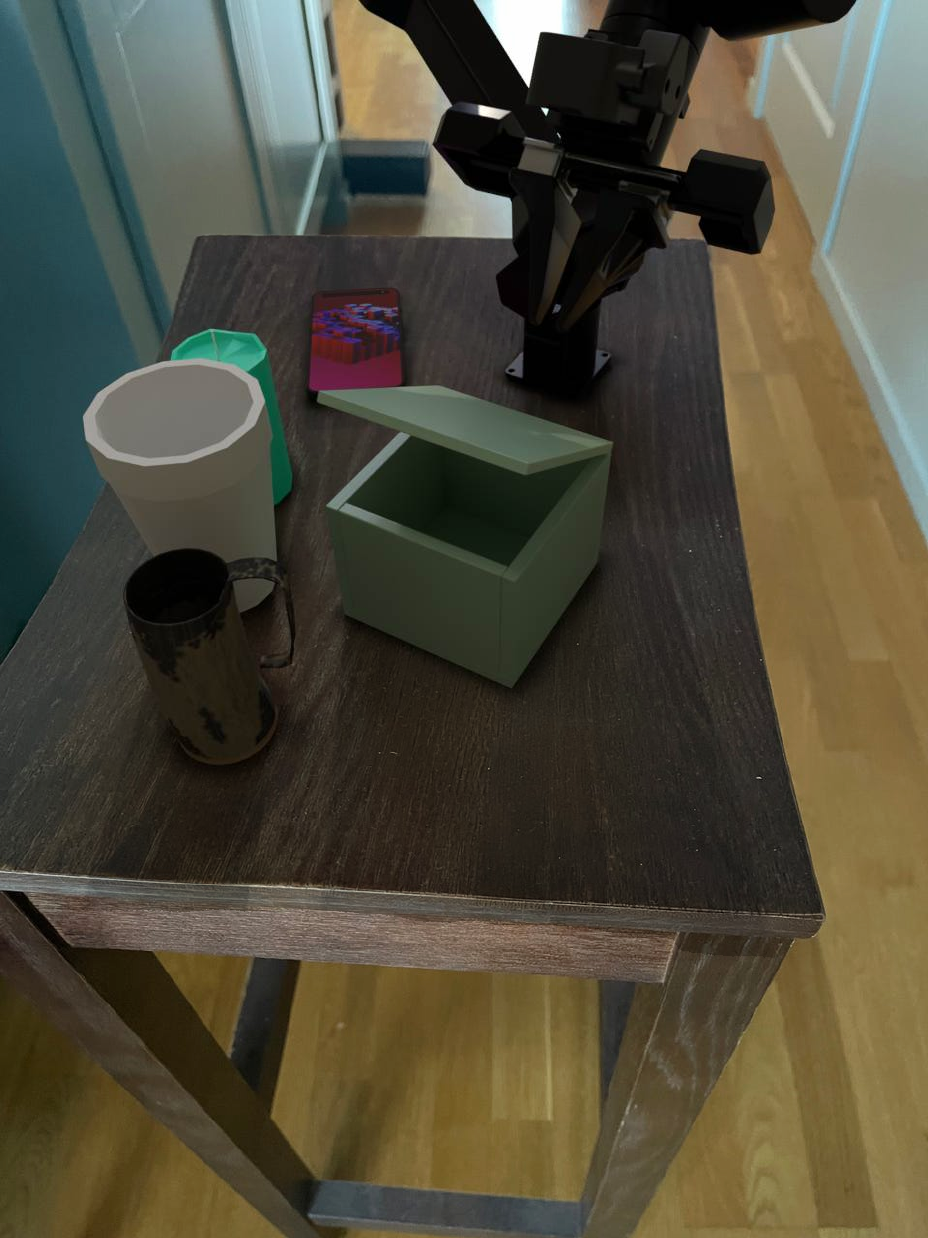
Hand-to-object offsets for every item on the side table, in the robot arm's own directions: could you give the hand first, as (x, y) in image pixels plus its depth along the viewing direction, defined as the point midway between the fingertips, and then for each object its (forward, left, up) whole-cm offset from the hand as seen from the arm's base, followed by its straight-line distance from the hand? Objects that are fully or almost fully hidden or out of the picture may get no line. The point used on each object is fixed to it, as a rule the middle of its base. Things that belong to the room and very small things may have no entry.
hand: (546, 326), depth 52 cm
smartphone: (-10, -22, -14) cm, 28 cm away
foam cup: (+16, -14, -14) cm, 25 cm away
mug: (+24, -6, -14) cm, 28 cm away
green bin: (+9, 0, -14) cm, 16 cm away
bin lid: (+8, 0, -2) cm, 9 cm away
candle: (+8, -19, -14) cm, 24 cm away
